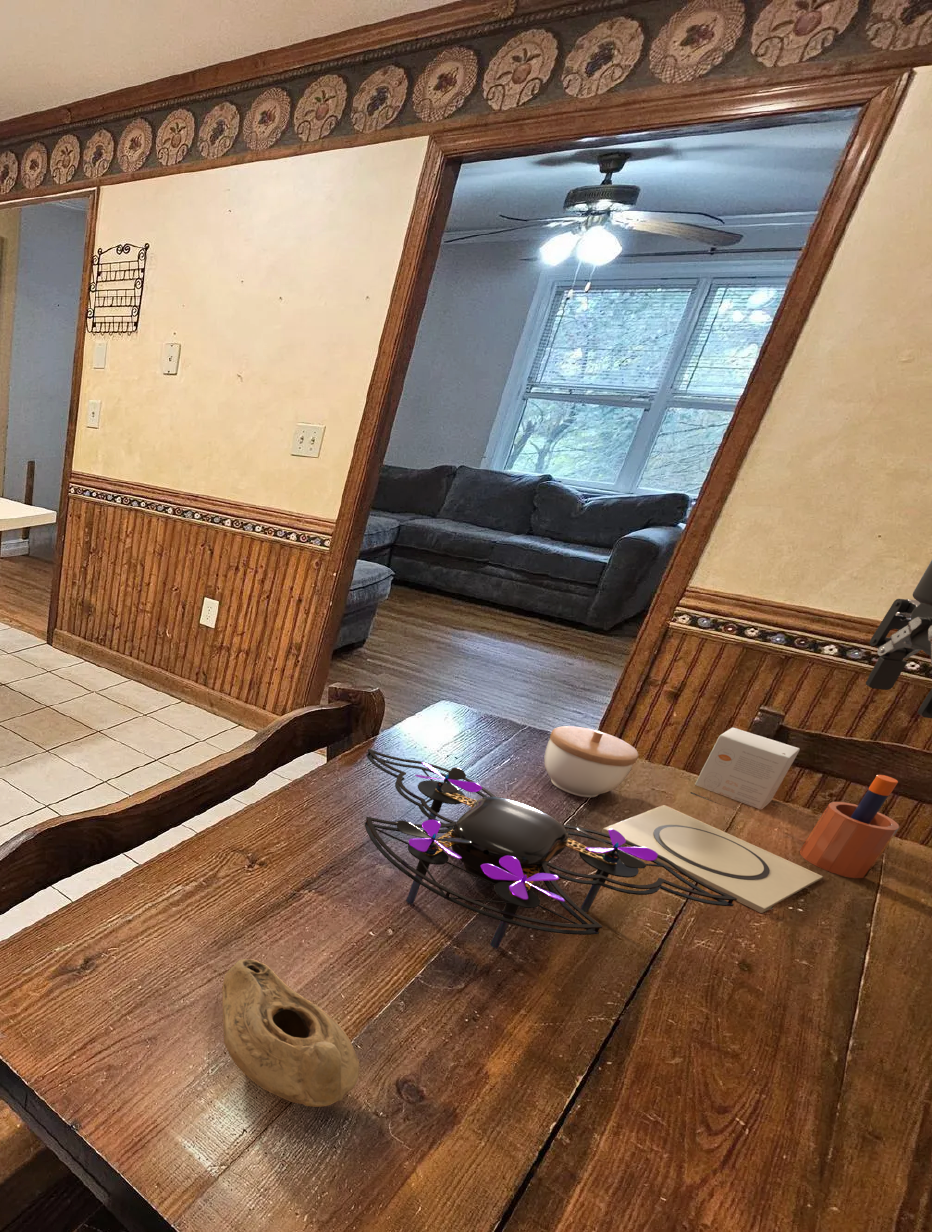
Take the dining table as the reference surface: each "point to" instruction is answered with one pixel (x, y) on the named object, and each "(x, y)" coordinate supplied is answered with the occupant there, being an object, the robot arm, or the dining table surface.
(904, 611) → the robot arm
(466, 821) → the drone
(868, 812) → the marker
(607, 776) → the trinket box
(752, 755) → the small box
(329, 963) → the dining table surface
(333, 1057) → the oil lamp
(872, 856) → the pen cup
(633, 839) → the drawing pad
